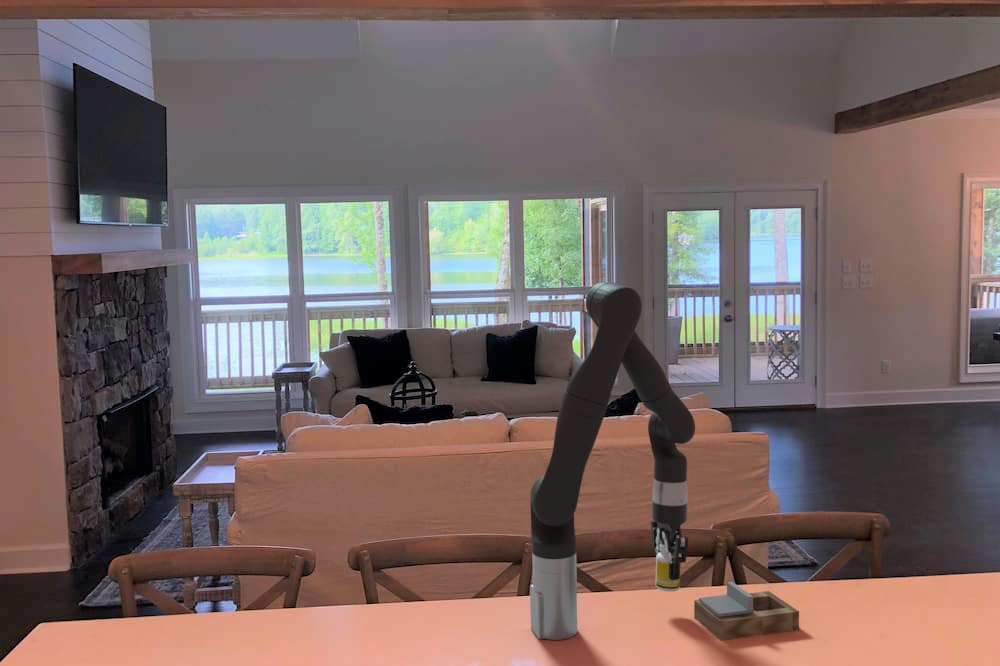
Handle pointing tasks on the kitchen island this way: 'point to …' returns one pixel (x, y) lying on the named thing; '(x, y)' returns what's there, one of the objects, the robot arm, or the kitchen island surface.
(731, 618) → the socket board
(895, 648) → the kitchen island surface
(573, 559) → the robot arm
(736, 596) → the panel
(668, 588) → the supplement bottle
